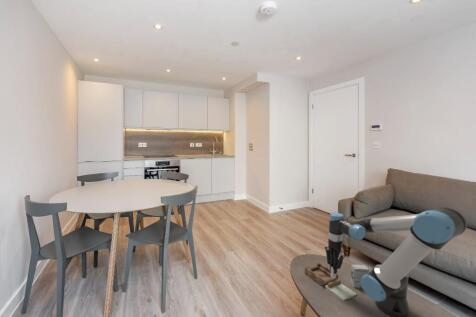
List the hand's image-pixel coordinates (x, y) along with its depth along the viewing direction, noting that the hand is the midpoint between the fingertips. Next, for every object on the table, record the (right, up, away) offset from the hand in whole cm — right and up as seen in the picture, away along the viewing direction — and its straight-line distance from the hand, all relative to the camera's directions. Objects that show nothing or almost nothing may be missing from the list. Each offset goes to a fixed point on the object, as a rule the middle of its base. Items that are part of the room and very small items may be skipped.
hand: (333, 277), depth 132 cm
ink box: (+16, -6, +1) cm, 17 cm away
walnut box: (-4, -4, +8) cm, 10 cm away
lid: (+2, -6, -4) cm, 8 cm away
